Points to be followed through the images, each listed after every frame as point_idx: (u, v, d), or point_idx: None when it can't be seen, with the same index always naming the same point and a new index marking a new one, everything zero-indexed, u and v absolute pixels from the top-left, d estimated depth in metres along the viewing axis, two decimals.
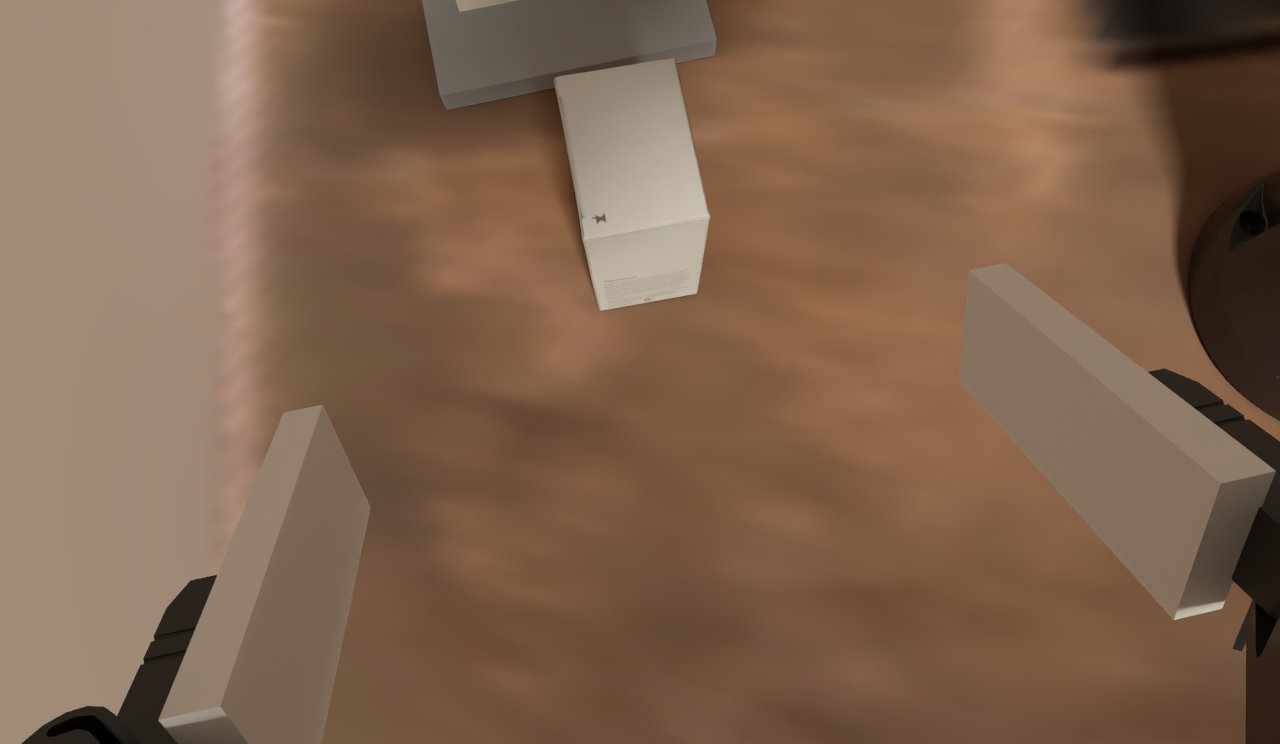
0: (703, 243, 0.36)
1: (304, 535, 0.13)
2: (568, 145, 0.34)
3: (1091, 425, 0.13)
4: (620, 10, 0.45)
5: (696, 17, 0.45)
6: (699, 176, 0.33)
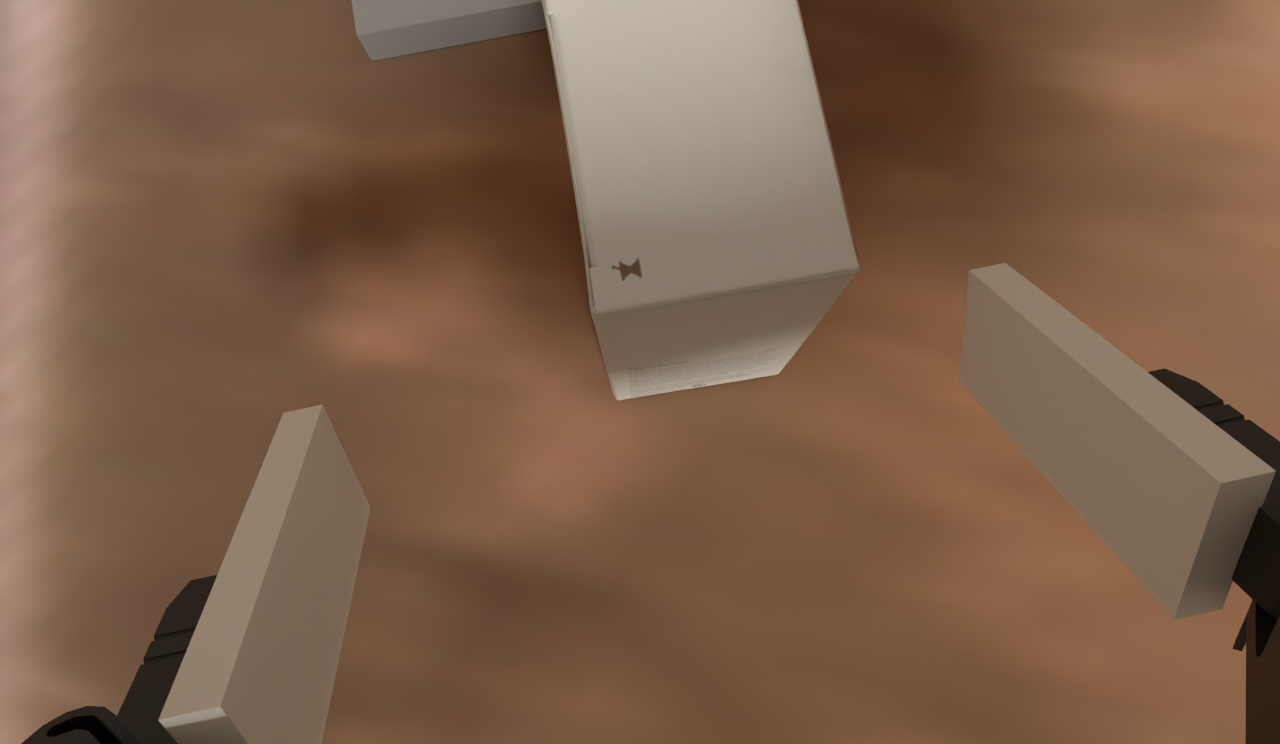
0: (825, 312, 0.18)
1: (304, 535, 0.13)
2: (565, 114, 0.16)
3: (1091, 425, 0.13)
4: None
5: None
6: (837, 183, 0.16)
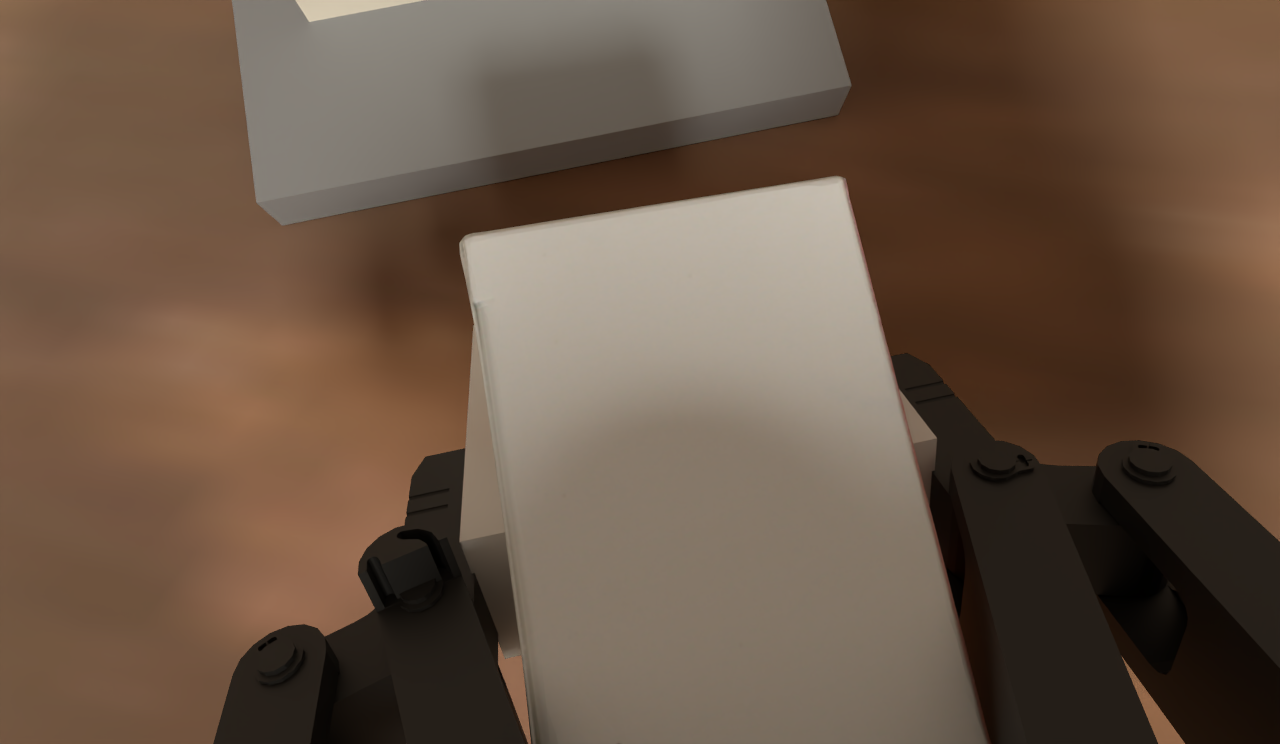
0: None
1: None
2: (499, 474, 0.10)
3: None
4: (646, 22, 0.21)
5: (806, 37, 0.21)
6: (949, 601, 0.10)
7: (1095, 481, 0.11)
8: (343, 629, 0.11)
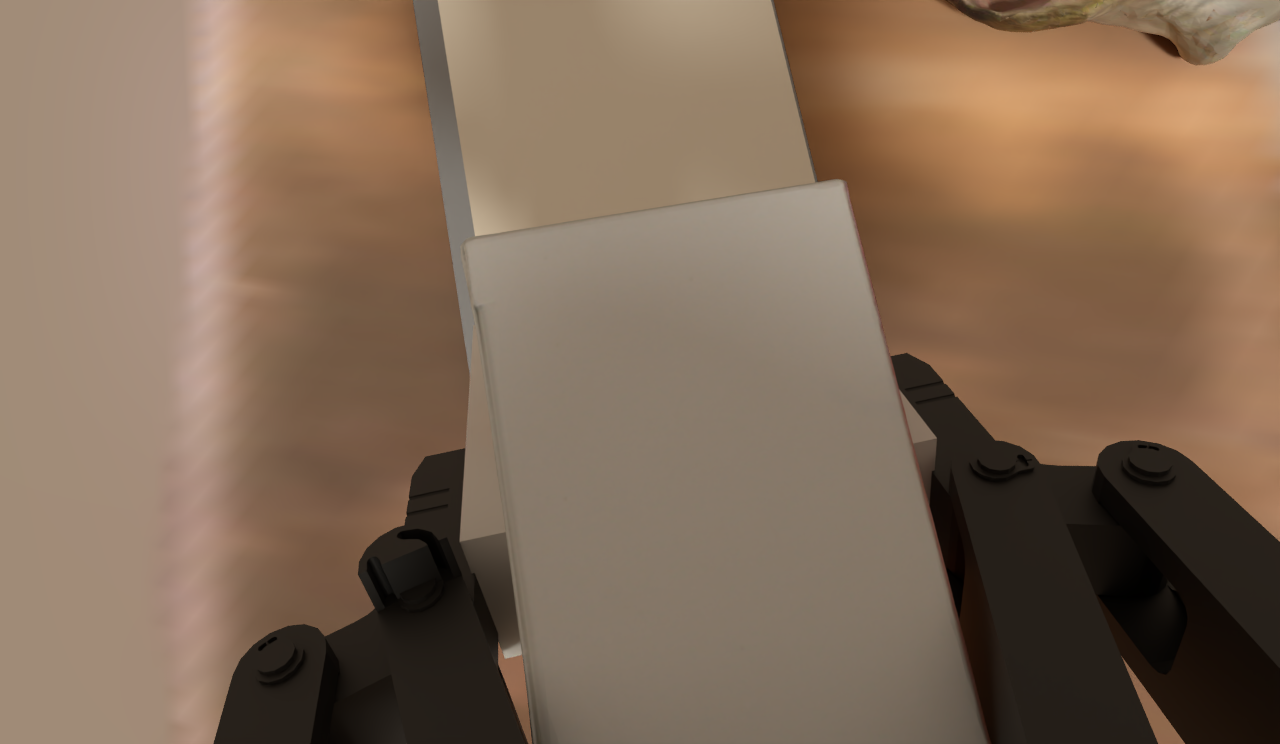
0: None
1: None
2: (500, 477, 0.10)
3: None
4: None
5: None
6: (949, 605, 0.10)
7: (1095, 481, 0.11)
8: (342, 628, 0.11)
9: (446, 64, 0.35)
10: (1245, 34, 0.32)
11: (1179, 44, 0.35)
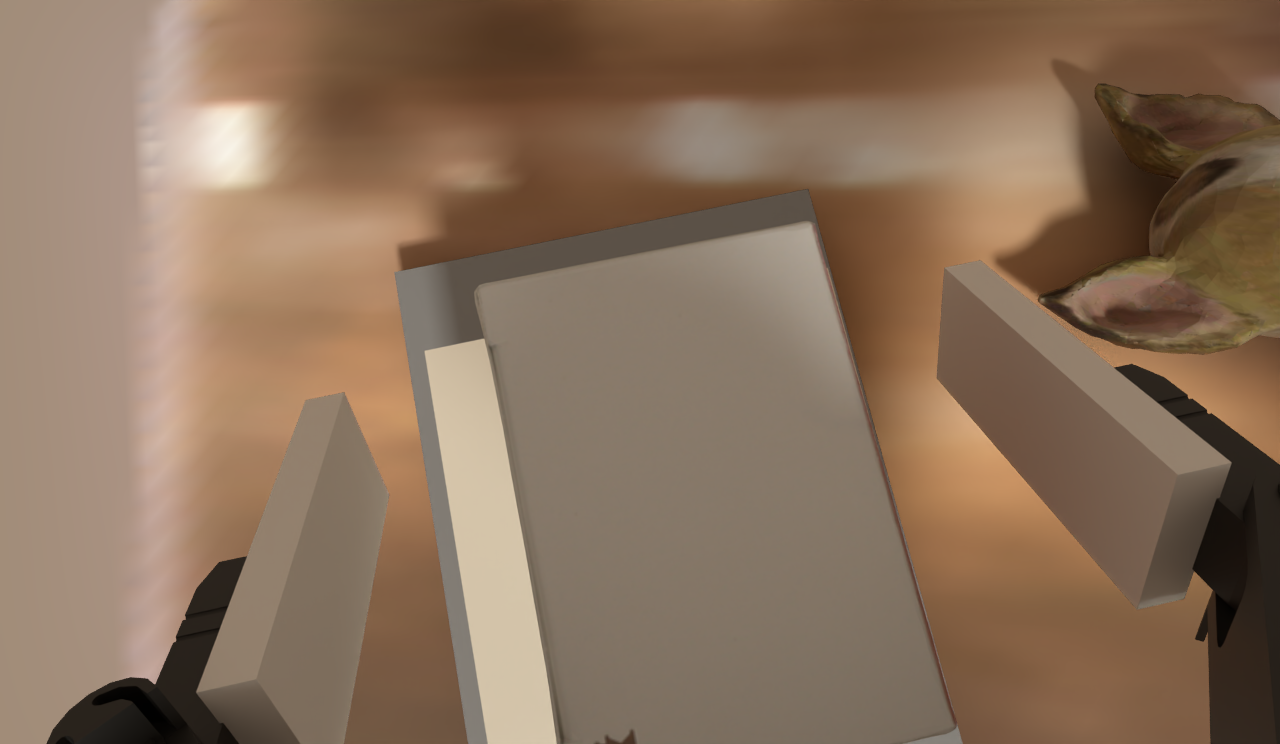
0: None
1: (329, 518, 0.13)
2: (518, 497, 0.11)
3: (1058, 419, 0.13)
4: None
5: None
6: (914, 595, 0.11)
7: None
8: None
9: None
10: None
11: None
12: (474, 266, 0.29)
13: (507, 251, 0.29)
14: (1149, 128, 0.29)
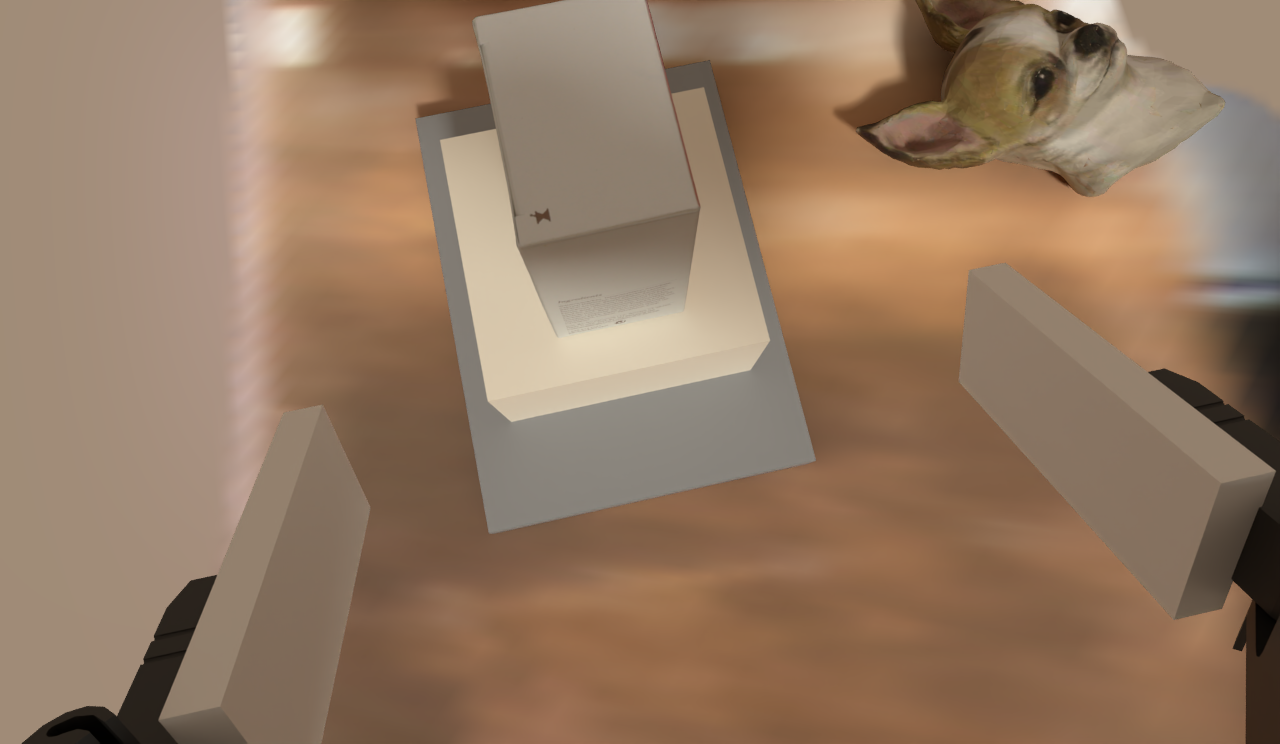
0: (691, 246, 0.26)
1: (304, 535, 0.13)
2: (494, 113, 0.24)
3: (1091, 425, 0.13)
4: (701, 421, 0.38)
5: (790, 431, 0.38)
6: (683, 151, 0.23)
7: None
8: None
9: (453, 215, 0.40)
10: (1116, 179, 0.38)
11: (1067, 180, 0.40)
12: (472, 114, 0.41)
13: None
14: (945, 16, 0.42)
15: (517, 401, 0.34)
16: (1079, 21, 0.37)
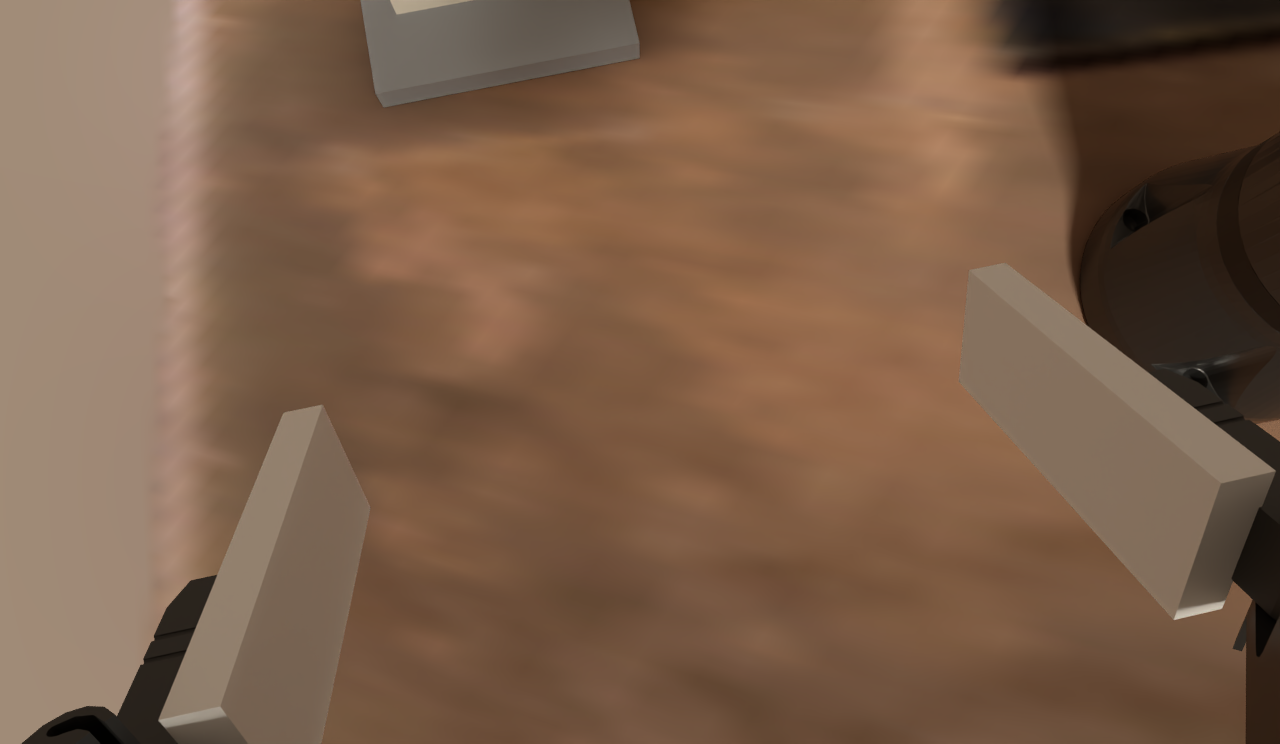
0: None
1: (304, 535, 0.13)
2: None
3: (1091, 425, 0.13)
4: (549, 15, 0.47)
5: (620, 22, 0.47)
6: None
7: None
8: None
9: None
10: None
11: None
12: None
13: None
14: None
15: None
16: None
